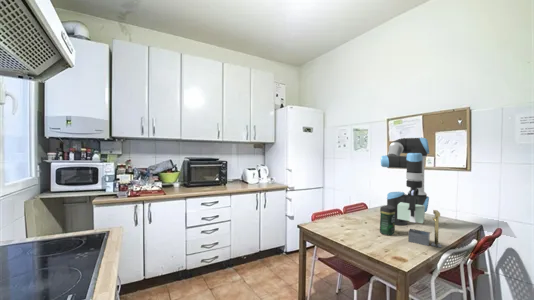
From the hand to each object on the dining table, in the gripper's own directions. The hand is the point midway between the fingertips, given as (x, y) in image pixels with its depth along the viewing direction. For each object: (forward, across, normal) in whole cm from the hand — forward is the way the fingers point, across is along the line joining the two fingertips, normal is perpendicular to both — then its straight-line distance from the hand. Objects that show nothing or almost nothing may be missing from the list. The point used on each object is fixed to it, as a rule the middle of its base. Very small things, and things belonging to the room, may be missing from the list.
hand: (413, 220), depth 129 cm
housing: (+16, +13, -4) cm, 21 cm away
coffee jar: (+16, +16, +17) cm, 29 cm away
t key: (+15, +14, -9) cm, 23 cm away
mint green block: (0, 0, +1) cm, 1 cm away
